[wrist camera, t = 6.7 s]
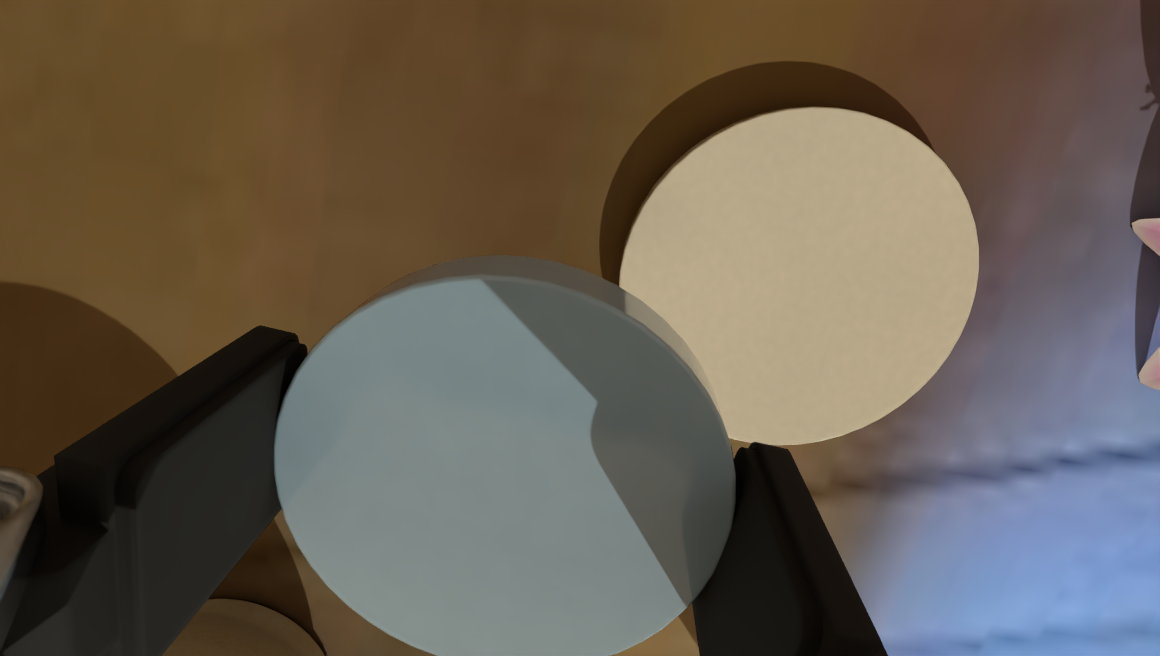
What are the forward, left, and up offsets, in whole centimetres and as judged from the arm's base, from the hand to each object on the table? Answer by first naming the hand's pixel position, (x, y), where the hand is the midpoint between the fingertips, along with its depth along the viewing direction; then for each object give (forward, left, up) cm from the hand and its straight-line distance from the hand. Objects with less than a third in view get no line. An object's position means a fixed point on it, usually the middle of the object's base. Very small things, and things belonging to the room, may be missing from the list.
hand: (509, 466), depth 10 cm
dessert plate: (-1, +8, -15) cm, 17 cm away
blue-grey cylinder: (0, 0, -1) cm, 1 cm away
